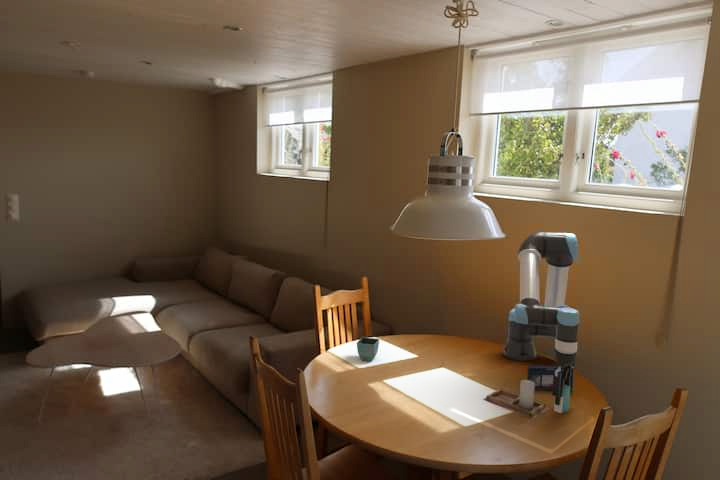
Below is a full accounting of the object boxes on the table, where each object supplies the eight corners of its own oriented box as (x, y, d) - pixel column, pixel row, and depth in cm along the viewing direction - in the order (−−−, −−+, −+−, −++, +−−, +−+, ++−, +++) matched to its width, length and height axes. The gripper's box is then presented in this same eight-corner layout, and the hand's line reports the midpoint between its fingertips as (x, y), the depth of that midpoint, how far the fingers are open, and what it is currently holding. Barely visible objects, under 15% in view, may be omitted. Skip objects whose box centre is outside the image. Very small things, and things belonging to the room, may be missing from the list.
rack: (499, 392, 209) (499, 386, 208) (548, 410, 194) (549, 404, 193) (482, 401, 200) (482, 395, 200) (532, 421, 186) (533, 415, 185)
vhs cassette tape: (528, 391, 211) (529, 368, 209) (525, 388, 214) (527, 365, 212) (573, 391, 211) (575, 368, 209) (570, 388, 214) (572, 365, 212)
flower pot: (356, 361, 240) (356, 342, 239) (361, 354, 248) (361, 336, 247) (374, 363, 238) (374, 345, 236) (379, 357, 246) (379, 338, 245)
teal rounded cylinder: (557, 407, 197) (559, 382, 195) (570, 411, 193) (572, 386, 192) (551, 411, 193) (553, 386, 192) (564, 416, 190) (566, 390, 188)
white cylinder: (523, 403, 197) (524, 378, 196) (535, 408, 194) (537, 382, 192) (516, 407, 194) (518, 382, 192) (528, 412, 190) (530, 386, 189)
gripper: (566, 342, 199) (562, 399, 202) (544, 353, 186) (540, 414, 190) (586, 347, 193) (581, 405, 197) (564, 359, 181) (560, 421, 184)
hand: (561, 409), depth 193 cm, fingers closed on teal rounded cylinder, 5 cm apart
